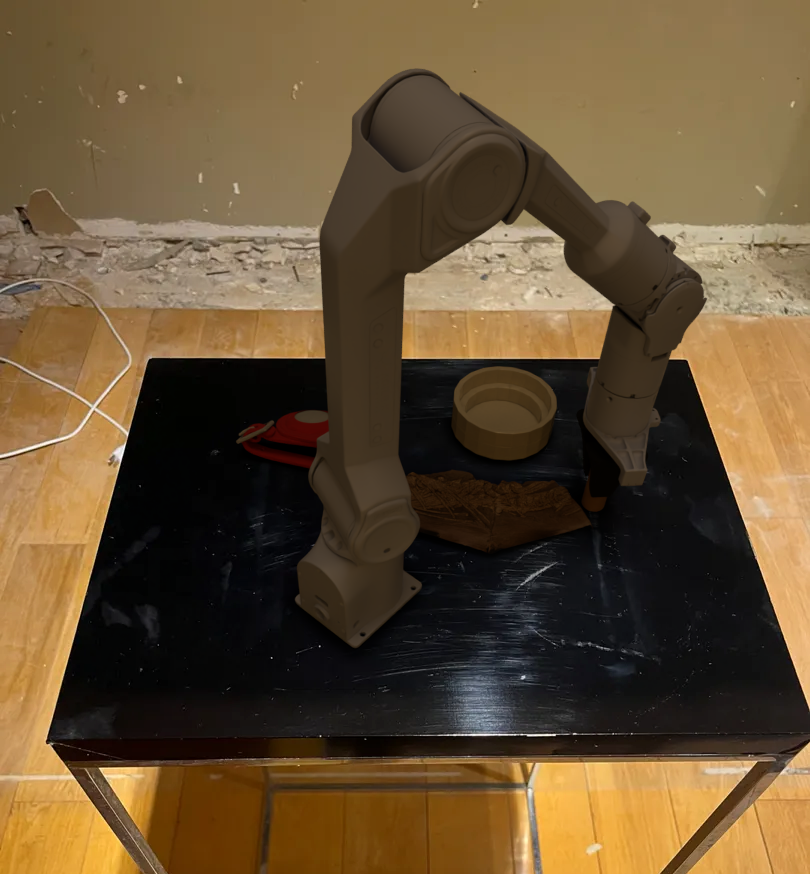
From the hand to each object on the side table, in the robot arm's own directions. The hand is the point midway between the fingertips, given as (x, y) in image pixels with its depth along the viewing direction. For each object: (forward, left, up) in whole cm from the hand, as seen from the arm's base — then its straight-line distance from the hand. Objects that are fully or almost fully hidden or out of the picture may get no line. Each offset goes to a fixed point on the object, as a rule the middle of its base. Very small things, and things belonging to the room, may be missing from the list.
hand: (597, 484), depth 84 cm
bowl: (+3, +14, -3) cm, 15 cm away
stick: (0, 0, -3) cm, 3 cm away
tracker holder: (-14, +29, -3) cm, 32 cm away
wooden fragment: (-10, +9, -3) cm, 14 cm away
